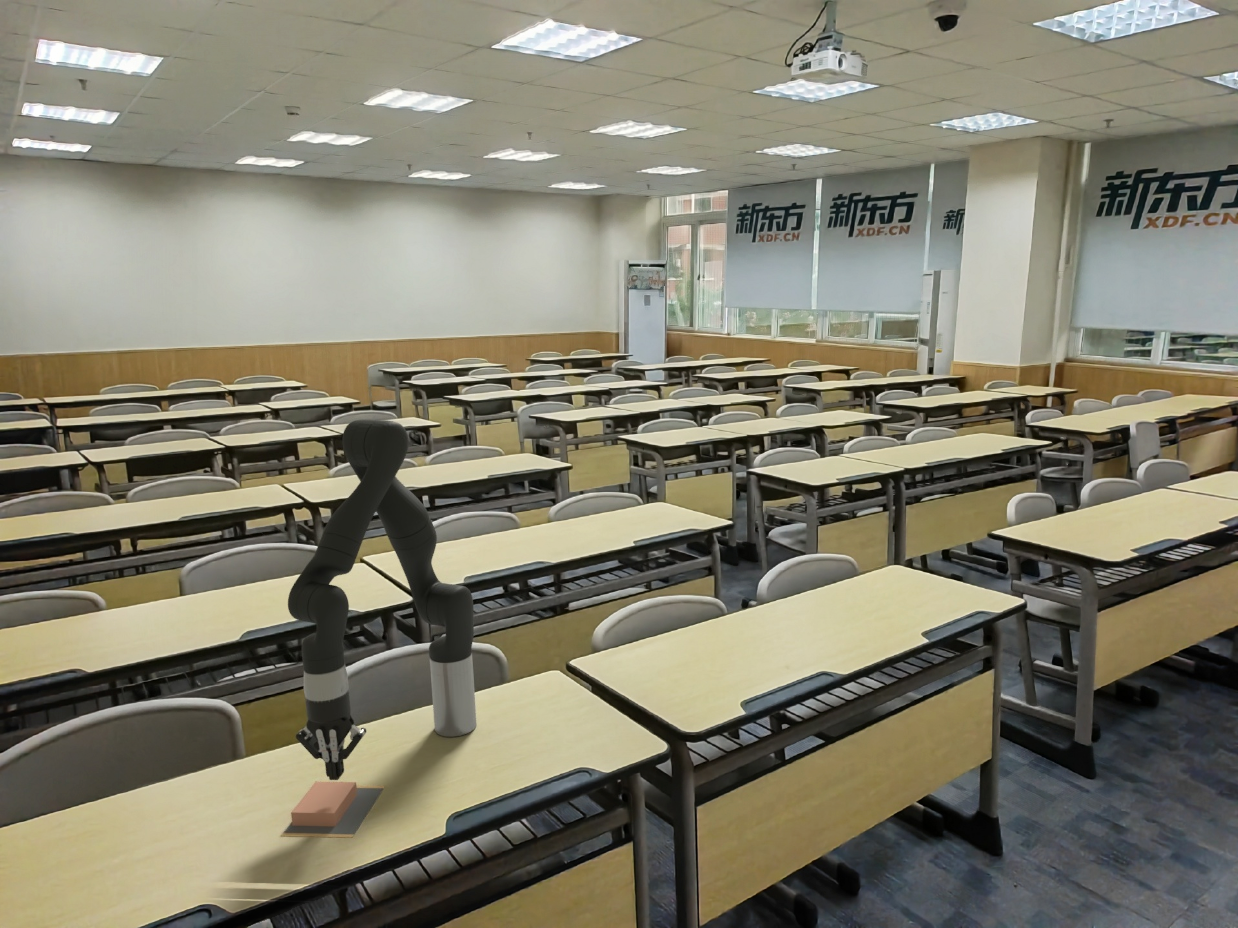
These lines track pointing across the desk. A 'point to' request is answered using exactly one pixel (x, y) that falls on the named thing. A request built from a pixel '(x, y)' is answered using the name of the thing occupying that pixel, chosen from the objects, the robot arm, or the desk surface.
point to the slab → (324, 804)
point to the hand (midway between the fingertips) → (335, 777)
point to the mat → (348, 820)
